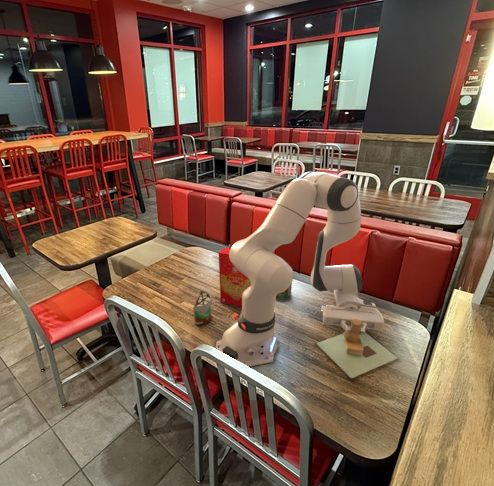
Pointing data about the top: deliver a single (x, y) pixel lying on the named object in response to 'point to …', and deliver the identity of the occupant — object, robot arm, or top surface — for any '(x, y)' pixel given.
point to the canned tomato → (284, 294)
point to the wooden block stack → (354, 339)
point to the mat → (356, 363)
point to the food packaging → (231, 280)
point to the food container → (203, 308)
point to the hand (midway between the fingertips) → (355, 332)
